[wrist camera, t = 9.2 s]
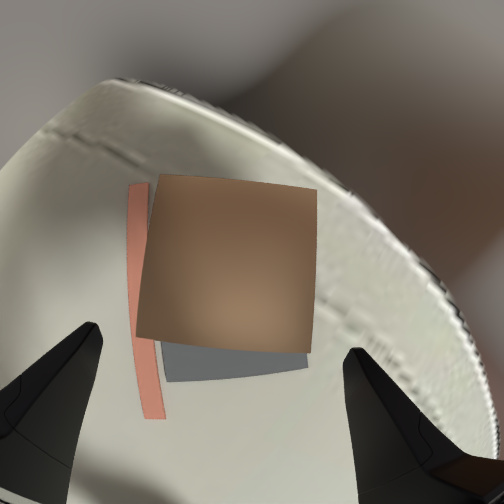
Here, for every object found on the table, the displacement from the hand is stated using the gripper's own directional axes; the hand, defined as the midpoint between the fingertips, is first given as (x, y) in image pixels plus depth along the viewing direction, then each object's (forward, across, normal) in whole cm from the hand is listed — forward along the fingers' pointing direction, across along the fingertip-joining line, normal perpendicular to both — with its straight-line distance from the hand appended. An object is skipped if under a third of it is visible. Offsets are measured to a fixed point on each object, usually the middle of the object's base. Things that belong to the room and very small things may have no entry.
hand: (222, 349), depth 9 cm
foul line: (+8, +6, +6) cm, 12 cm away
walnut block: (+9, 0, +5) cm, 10 cm away
